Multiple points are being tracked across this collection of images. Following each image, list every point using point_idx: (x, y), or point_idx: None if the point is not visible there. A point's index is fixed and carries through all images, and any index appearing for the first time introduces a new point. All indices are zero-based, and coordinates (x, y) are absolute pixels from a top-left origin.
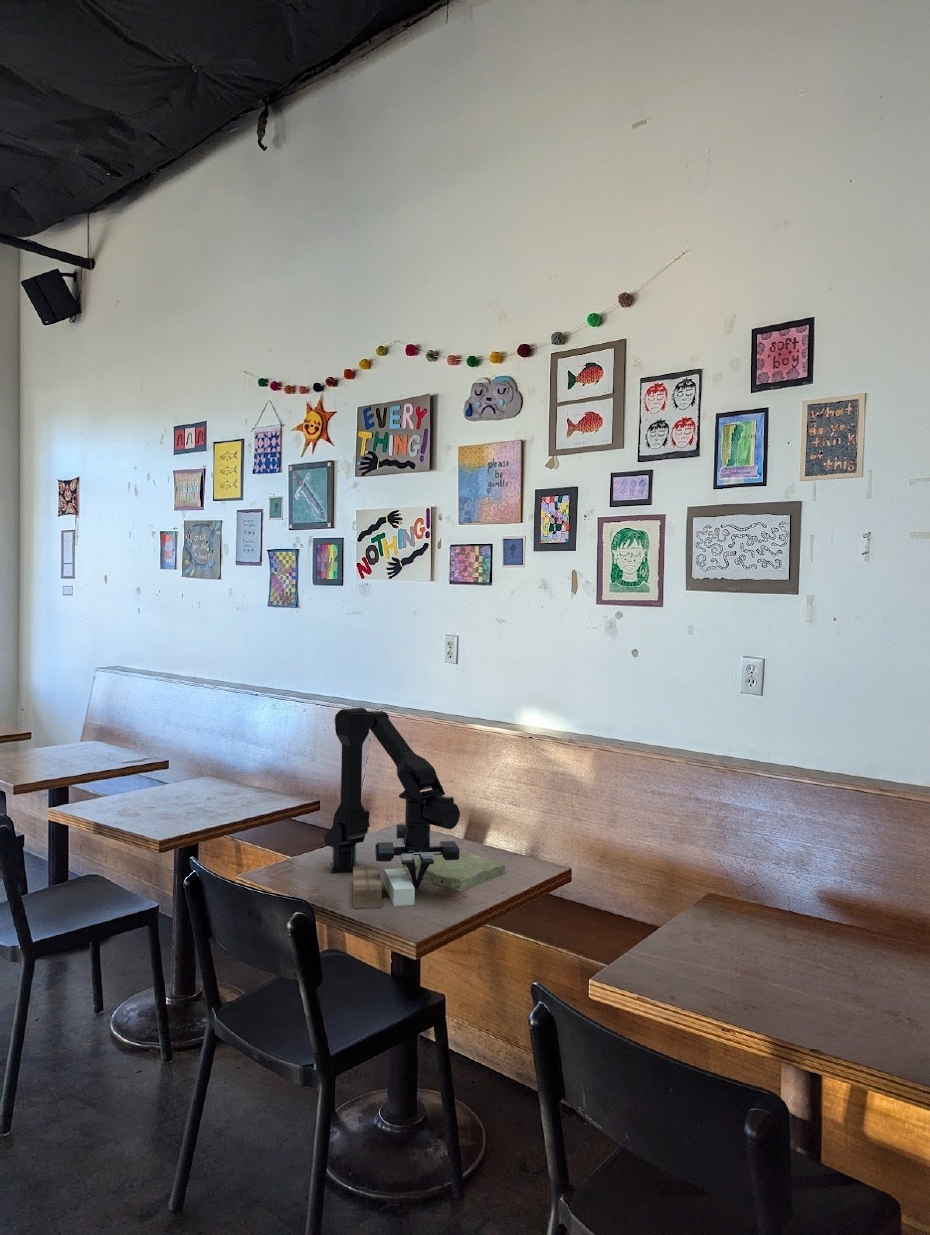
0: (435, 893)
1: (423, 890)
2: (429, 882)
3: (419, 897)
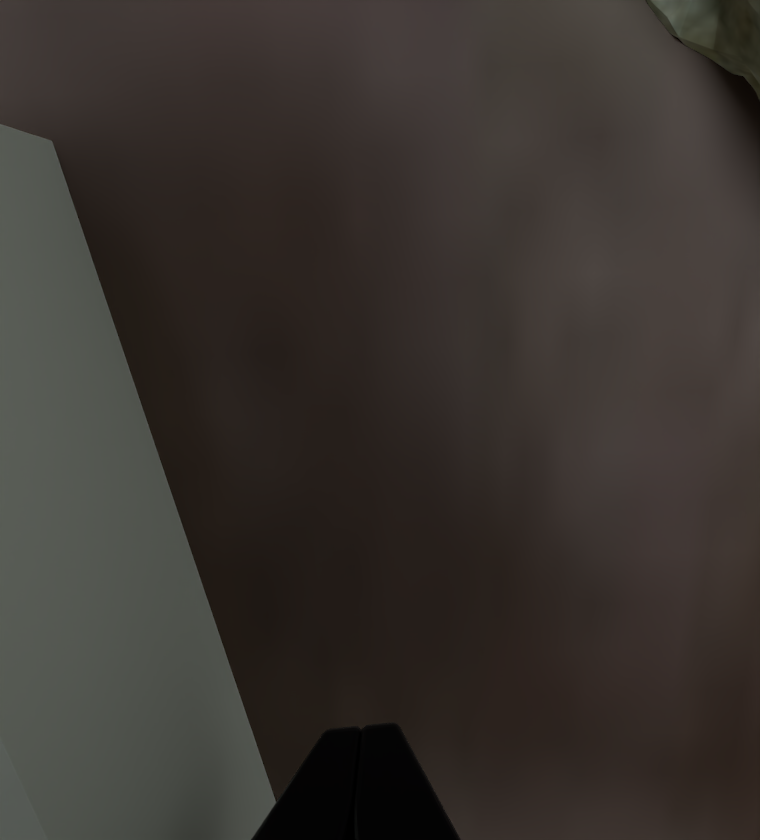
0: (712, 655)
1: (502, 521)
2: (658, 16)
3: None
